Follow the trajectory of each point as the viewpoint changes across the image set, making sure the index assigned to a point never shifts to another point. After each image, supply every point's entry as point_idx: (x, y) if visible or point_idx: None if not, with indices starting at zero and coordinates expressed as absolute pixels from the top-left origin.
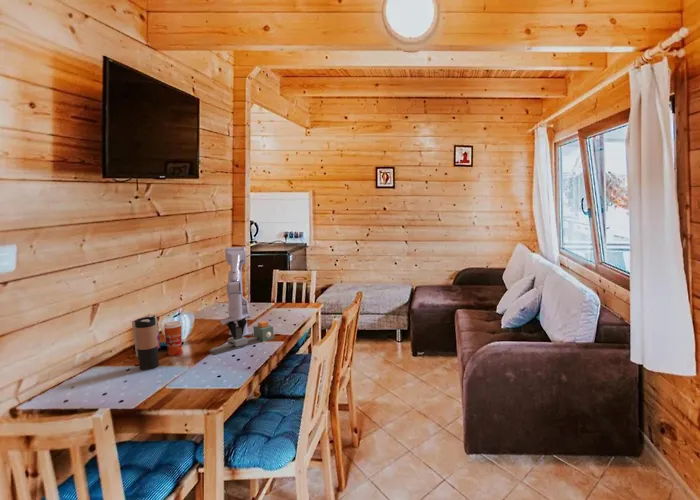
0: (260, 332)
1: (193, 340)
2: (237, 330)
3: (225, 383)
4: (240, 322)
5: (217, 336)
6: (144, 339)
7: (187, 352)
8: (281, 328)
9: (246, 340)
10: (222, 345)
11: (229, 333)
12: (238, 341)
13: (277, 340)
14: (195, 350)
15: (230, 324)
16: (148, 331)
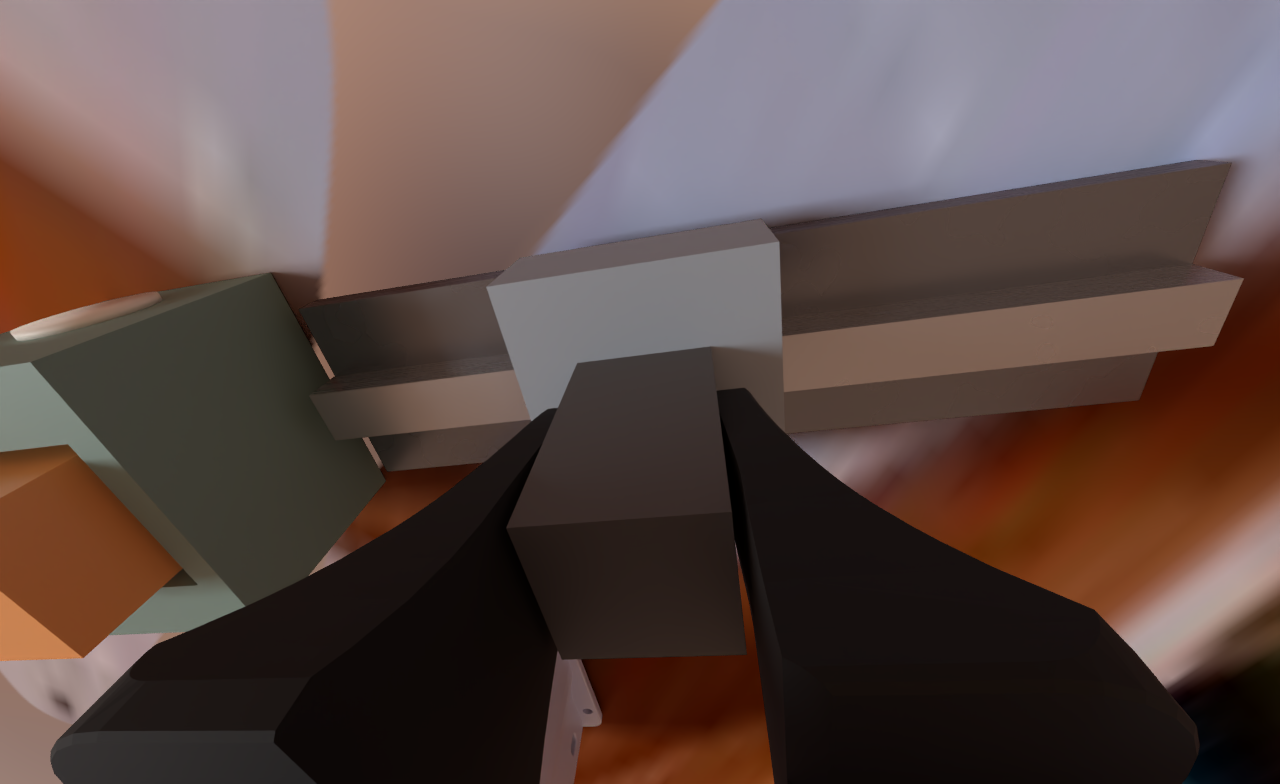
0: (186, 398)
1: None
2: (666, 473)
3: None
4: (451, 753)
5: (706, 720)
6: None
7: (1275, 540)
8: None
9: (523, 270)
10: (957, 366)
11: (593, 712)
12: (706, 248)
13: (25, 168)
14: (1156, 541)
15: (1185, 766)
16: None
